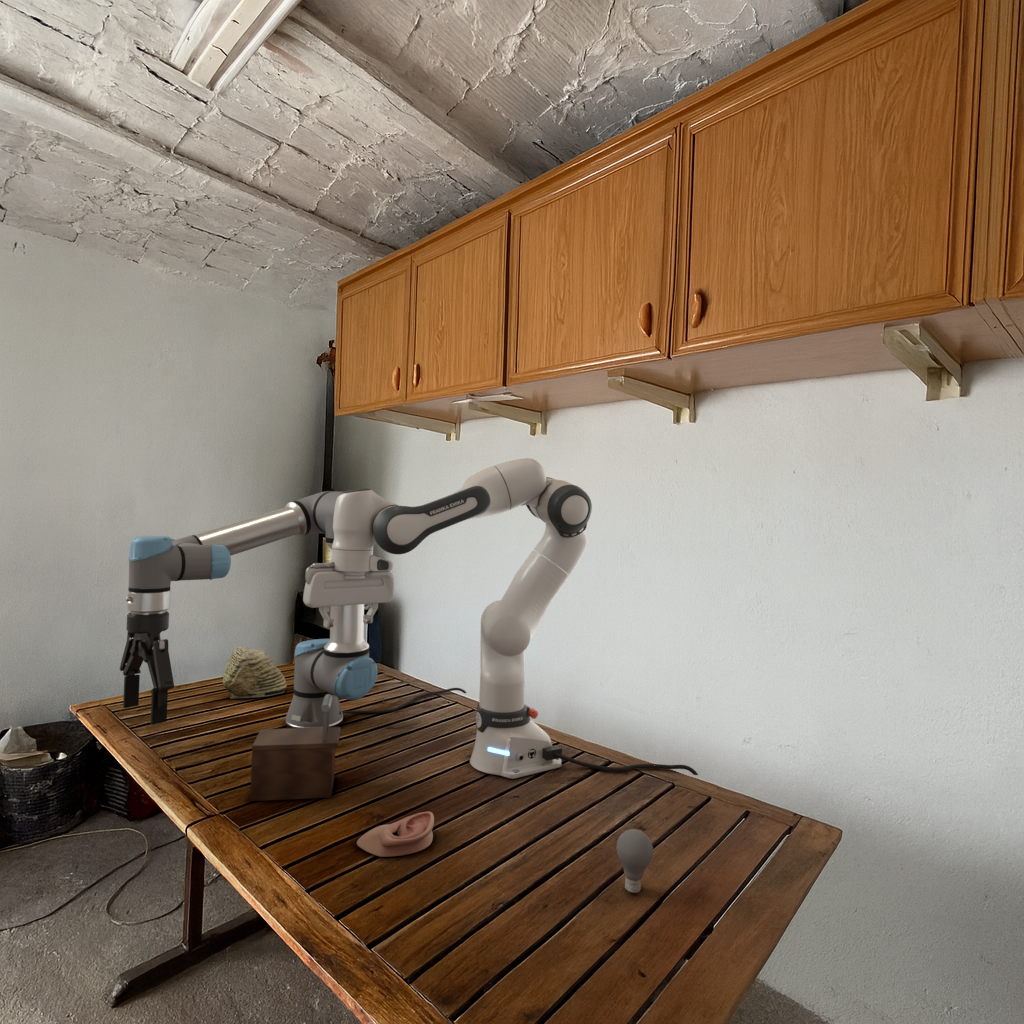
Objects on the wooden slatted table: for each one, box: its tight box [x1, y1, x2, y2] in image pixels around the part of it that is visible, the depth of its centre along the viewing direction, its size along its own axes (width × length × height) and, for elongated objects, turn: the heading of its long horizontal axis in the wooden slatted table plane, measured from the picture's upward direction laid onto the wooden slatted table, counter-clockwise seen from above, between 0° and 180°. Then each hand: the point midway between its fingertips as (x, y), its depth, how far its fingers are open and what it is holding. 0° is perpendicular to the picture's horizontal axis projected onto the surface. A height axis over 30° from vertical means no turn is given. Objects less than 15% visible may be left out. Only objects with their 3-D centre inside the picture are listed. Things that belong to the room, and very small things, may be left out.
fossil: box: [222, 646, 288, 699], centre depth 198 cm, size 9×18×15 cm, turn 132°
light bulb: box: [615, 828, 654, 894], centre depth 106 cm, size 6×6×10 cm
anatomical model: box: [356, 811, 435, 858], centre depth 118 cm, size 13×4×12 cm
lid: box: [251, 694, 342, 752], centre depth 136 cm, size 17×9×9 cm, turn 102°
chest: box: [249, 748, 336, 802], centre depth 137 cm, size 16×9×10 cm, turn 102°
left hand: (144, 714), depth 130 cm, fingers open, 13 cm apart
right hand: (348, 625), depth 139 cm, fingers open, 8 cm apart
